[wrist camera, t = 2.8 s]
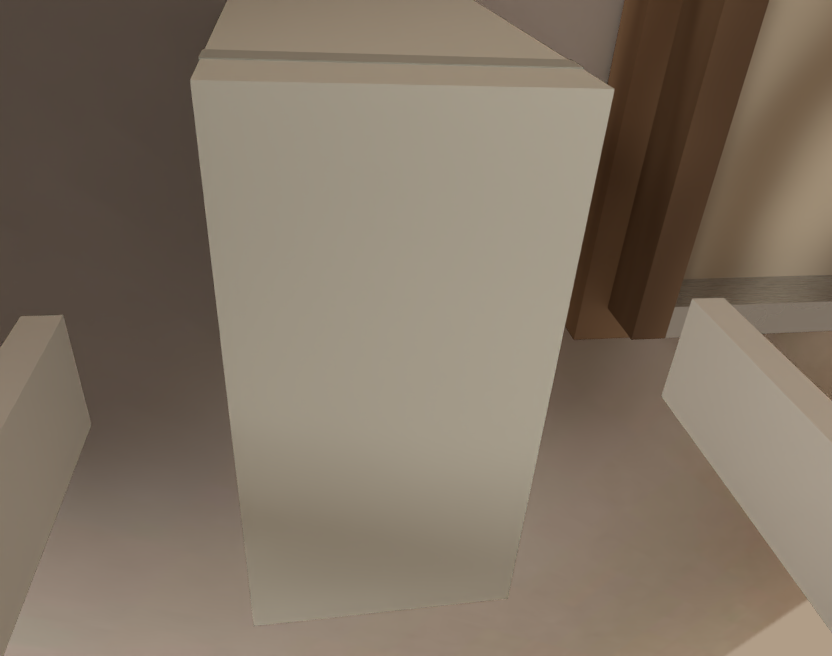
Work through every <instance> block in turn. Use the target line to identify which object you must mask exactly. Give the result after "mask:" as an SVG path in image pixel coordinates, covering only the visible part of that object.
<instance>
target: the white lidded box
mask: <svg viewBox="0 0 832 656" xmlns="http://www.w3.org/2000/svg"><path fill="white" fill-rule="evenodd" d="M198 59H199V62H198V64H197V66H196V68H195V70H194V73H193V75H192V77H191V79H190V85H191V93H192V102H193V110H194V119H195V127H196V136H197V144H198V153H199V162H200V170H201V179H202V187H203V196H204V204H205V213H206V221H207V230H208V239H209V247H210V256H211V264H212V273H213V281H214V290H215V298H216V307H217V316H218V324H219V333H220V341H221V350H222V358H223V367H224V375H225V384H226V392H227V401H228V410H229V418H230V427H231V435H232V444H233V452H234V461H235V469H236V478H237V487H238V495H239V504H240V512H241V521H242V529H243V538H244V546H245V555H246V564H247V572H248V581H249V589H250V598H251V606H252V615H253V623H254V626H262V625H271V624H280V623H289V622H298V621H308V620H317V619H326V618H335V617H344V616H353V615H362V614H372V613H381V612H390V611H399V610H408V609H417V608H427V607H436V606H445V605H454V604H463V603H472V602H482V601H491V600H500V599H508V595H509V590H510V585H511V580H512V575H513V571H514V566H515V561H516V556H517V552H518V547H519V542H520V537H521V533H522V528H523V523H524V518H525V514H526V509H527V504H528V499H529V495H530V490H531V485H532V480H533V475H534V471H535V466H536V461H537V456H538V452H539V447H540V442H541V437H542V433H543V428H544V423H545V418H546V414H547V409H548V404H549V399H550V395H551V390H552V385H553V380H554V375H555V371H556V366H557V361H558V356H559V352H560V347H561V342H562V337H563V333H564V328H565V323H566V318H567V314H568V309H569V304H570V299H571V295H572V290H573V285H574V280H575V275H576V271H577V266H578V261H579V256H580V252H581V247H582V242H583V237H584V233H585V228H586V223H587V218H588V214H589V209H590V204H591V199H592V194H593V190H594V185H595V180H596V175H597V171H598V166H599V161H600V156H601V152H602V147H603V142H604V137H605V133H606V128H607V123H608V118H609V114H610V109H611V104H612V99H613V94H614V90H615V89H614V88H612V87H611V86H609V85H607V84H606V83H604V82H603V81H601V80H600V79H598V78H596V77H595V76H593V75H592V74H590V73H588V72H587V71H585V70H584V67H582V66H581V65H579V64H577V63H576V62H574V61H573V60H569V59H566V58H565V57H563V56H561V55H560V54H558V53H557V52H555V51H553V50H552V49H550V48H549V47H547V46H545V45H544V44H542V43H541V42H539V41H538V40H536V39H534V38H533V37H531V36H530V35H528V34H526V33H525V32H523V31H522V30H520V29H518V28H517V27H515V26H514V25H512V24H511V23H509V22H507V21H506V20H504V19H503V18H501V17H499V16H498V15H496V14H495V13H493V12H491V11H490V10H488V9H487V8H485V7H483V6H482V5H480V4H479V3H477V2H476V1H474V0H227V2H226V4H225V6H224V8H223V10H222V13H221V15H220V17H219V19H218V21H217V23H216V25H215V28H214V30H213V32H212V34H211V36H210V38H209V40H208V43H207V45H206V47H205V49H202V51H201V53H200V55H199V57H198Z"/></svg>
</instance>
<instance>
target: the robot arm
mask: <svg viewBox="0 0 832 656" xmlns="http://www.w3.org/2000/svg"><path fill="white" fill-rule="evenodd" d="M661 397H662V398H663V399H664V401H665V402H666V404H667V405H668V406H669V408H670V409H671V410H672V412H673V413H674V415H675V416H676V417H677V419H678V420H679V422H680V423H681V424H682V426H683V427H684V428H685V430H686V431H687V433H688V434H689V435H690V437H691V438H692V440H693V441H694V442H695V444H696V445H697V447H698V448H699V449H700V451H701V452H702V453H703V455H704V456H705V458H706V459H707V460H708V462H709V463H710V465H711V466H712V467H713V469H714V470H715V471H716V473H717V474H718V476H719V477H720V478H721V480H722V481H723V483H724V484H725V485H726V487H727V488H728V489H729V491H730V492H731V494H732V495H733V496H734V498H735V499H736V501H737V502H738V503H739V505H740V506H741V508H742V509H743V510H744V512H745V513H746V514H747V516H748V517H749V519H750V520H751V521H752V523H753V524H754V526H755V527H756V528H757V530H758V531H759V532H760V534H761V535H762V537H763V538H764V539H765V541H766V542H767V544H768V545H769V546H770V548H771V549H772V551H773V552H774V553H775V555H776V556H777V557H778V559H779V560H780V562H781V563H782V564H783V566H784V567H785V569H786V570H787V571H788V573H789V574H790V575H791V577H792V578H793V580H794V581H795V582H796V584H797V585H798V587H799V588H800V589H801V591H802V592H803V593H804V595H805V596H806V598H807V599H808V600H809V602H810V603H811V604H812V606H813V607H814V609H815V610H816V612H817V613H818V614H819V616H820V617H821V618H822V620H823V621H824V623H825V624H826V625H827V627H828V628H829V630H830V631H831V632H832V401H831V400H830V399H829V398H828V397H827V396H826V395H825V394H824V393H823V392H822V391H821V390H820V389H819V388H818V387H817V386H816V385H815V384H814V383H813V382H812V381H810V380H809V379H808V378H807V377H806V376H805V375H804V374H803V373H802V372H801V371H800V370H799V369H798V368H797V367H796V366H795V365H794V364H793V363H792V362H791V361H790V360H788V359H787V358H786V357H785V356H784V355H783V354H782V353H781V352H780V351H779V350H778V349H777V348H776V347H775V346H774V345H773V344H772V343H771V342H770V341H769V340H767V339H766V338H765V337H764V336H763V335H762V334H761V333H760V332H759V331H758V330H757V329H756V328H755V327H754V326H753V325H752V324H751V323H750V322H749V321H748V320H747V319H745V318H744V317H743V316H742V315H741V314H740V313H739V312H738V311H737V310H736V309H735V308H734V307H733V306H732V305H731V304H730V303H729V302H728V301H727V300H726V299H725V298H694V299H692V301H691V304H690V307H689V310H688V313H687V317H686V320H685V323H684V326H683V329H682V332H681V336H680V339H679V342H678V345H677V348H676V351H675V355H674V358H673V361H672V364H671V367H670V370H669V374H668V377H667V380H666V383H665V386H664V389H663V393H662V396H661ZM90 427H91V421H90V417H89V413H88V409H87V405H86V401H85V397H84V394H83V390H82V386H81V382H80V378H79V374H78V370H77V366H76V362H75V359H74V355H73V351H72V347H71V343H70V339H69V335H68V331H67V327H66V323H65V320H64V316H63V315H47V316H20V318H19V319H18V321H17V323H16V324H15V326H14V327H13V329H12V330H11V332H10V333H9V335H8V336H7V338H6V340H5V341H4V343H3V344H2V346H1V347H0V656H4V653H5V650H6V648H7V645H8V642H9V640H10V637H11V635H12V632H13V629H14V627H15V624H16V621H17V619H18V616H19V614H20V611H21V608H22V606H23V603H24V601H25V598H26V595H27V593H28V590H29V587H30V585H31V582H32V580H33V577H34V574H35V572H36V569H37V566H38V564H39V561H40V559H41V556H42V553H43V551H44V548H45V545H46V543H47V540H48V538H49V535H50V532H51V530H52V527H53V524H54V522H55V519H56V517H57V514H58V511H59V509H60V506H61V503H62V501H63V498H64V496H65V493H66V490H67V488H68V485H69V483H70V480H71V477H72V475H73V472H74V469H75V467H76V464H77V462H78V459H79V456H80V454H81V451H82V448H83V446H84V443H85V441H86V438H87V435H88V433H89V430H90Z"/></svg>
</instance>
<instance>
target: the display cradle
mask: <svg viewBox="0 0 832 656" xmlns="http://www.w3.org/2000/svg"><path fill="white" fill-rule="evenodd" d="M607 85H609V86H611V87H612V88H614V89H615V90H614V94H613V99H612V104H611V109H610V114H609V118H608V123H607V128H606V133H605V137H604V142H603V147H602V152H601V156H600V161H599V166H598V171H597V175H596V180H595V185H594V190H593V194H592V199H591V204H590V209H589V214H588V218H587V223H586V228H585V233H584V237H583V242H582V247H581V252H580V256H579V261H578V266H577V271H576V275H575V280H574V285H573V290H572V295H571V299H570V304H569V309H568V314H567V318H566V323H565V327H566V328H567V330H568V331H569V333H570V335H571V336H572V338H573V339H574V340H581V339H604V338H627V337H630V338H631V340H634V339H657V338H679V337H680V336H681V332H682V329H683V326H684V323H685V320H686V317H687V313H688V310H689V307H690V304H691V301H692V299H694V298H725V299H726V300H727V301H728V302H729V303H730V304H731V305H732V306H733V307H734V308H735V309H736V310H737V311H738V312H739V313H740V314H741V315H742V316H743V317H744V318H745V319H747V320H748V321H749V322H750V323H751V324H752V325H753V326H754V327H755V328H756V329H757V330H758V331H759V332H760V333H761V334H769V333H792V332H815V331H832V0H625V1H624V6H623V11H622V16H621V21H620V25H619V30H618V35H617V40H616V45H615V50H614V55H613V60H612V65H611V70H610V75H609V79H608V84H607Z"/></svg>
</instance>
